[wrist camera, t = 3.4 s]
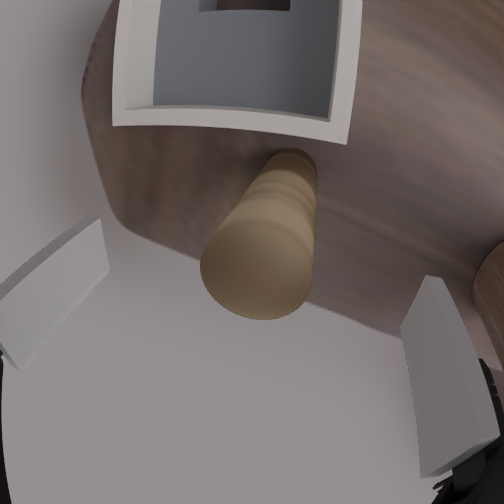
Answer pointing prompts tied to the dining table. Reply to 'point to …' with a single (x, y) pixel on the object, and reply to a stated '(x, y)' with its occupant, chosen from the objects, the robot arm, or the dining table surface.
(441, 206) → the dining table surface
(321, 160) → the dining table surface
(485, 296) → the planter
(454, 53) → the dining table surface
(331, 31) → the box
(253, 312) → the dowel
